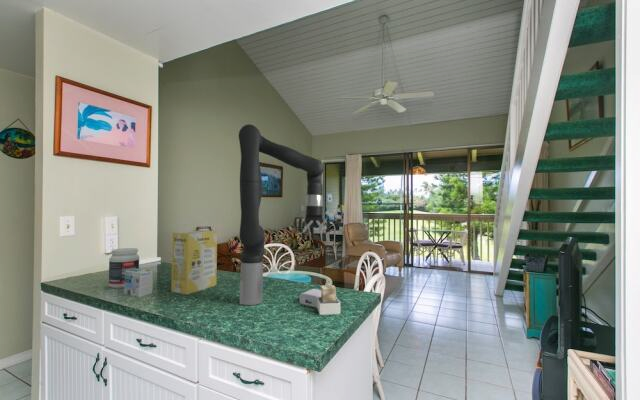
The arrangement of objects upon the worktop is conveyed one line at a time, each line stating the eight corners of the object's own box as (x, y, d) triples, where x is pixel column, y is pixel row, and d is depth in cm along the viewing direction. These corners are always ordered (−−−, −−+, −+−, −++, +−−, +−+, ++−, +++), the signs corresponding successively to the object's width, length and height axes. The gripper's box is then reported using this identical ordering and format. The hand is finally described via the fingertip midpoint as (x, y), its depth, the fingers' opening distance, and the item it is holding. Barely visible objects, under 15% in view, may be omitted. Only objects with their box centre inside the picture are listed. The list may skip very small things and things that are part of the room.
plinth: (319, 314, 112) (319, 303, 112) (317, 307, 120) (317, 296, 120) (340, 313, 113) (340, 302, 113) (336, 306, 121) (336, 296, 121)
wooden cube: (323, 301, 113) (323, 288, 114) (321, 298, 118) (321, 285, 118) (335, 301, 114) (335, 288, 114) (333, 297, 119) (333, 285, 119)
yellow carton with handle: (201, 282, 157) (202, 230, 158) (216, 285, 152) (217, 231, 153) (171, 291, 141) (172, 232, 141) (186, 294, 136) (188, 233, 137)
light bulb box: (123, 294, 135) (124, 270, 136) (137, 290, 142) (137, 268, 142) (139, 297, 131) (140, 273, 132) (153, 293, 138) (153, 270, 138)
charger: (335, 298, 132) (317, 308, 120) (318, 295, 137) (299, 304, 125) (335, 288, 132) (317, 296, 120) (318, 285, 137) (299, 292, 125)
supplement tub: (127, 289, 144) (128, 251, 144) (101, 288, 144) (103, 251, 145) (144, 282, 157) (144, 247, 157) (120, 282, 157) (121, 247, 157)
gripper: (299, 204, 127) (298, 242, 127) (331, 205, 129) (330, 242, 129) (298, 204, 135) (297, 240, 134) (329, 205, 136) (328, 240, 136)
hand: (313, 241), depth 132 cm, fingers open, 8 cm apart
